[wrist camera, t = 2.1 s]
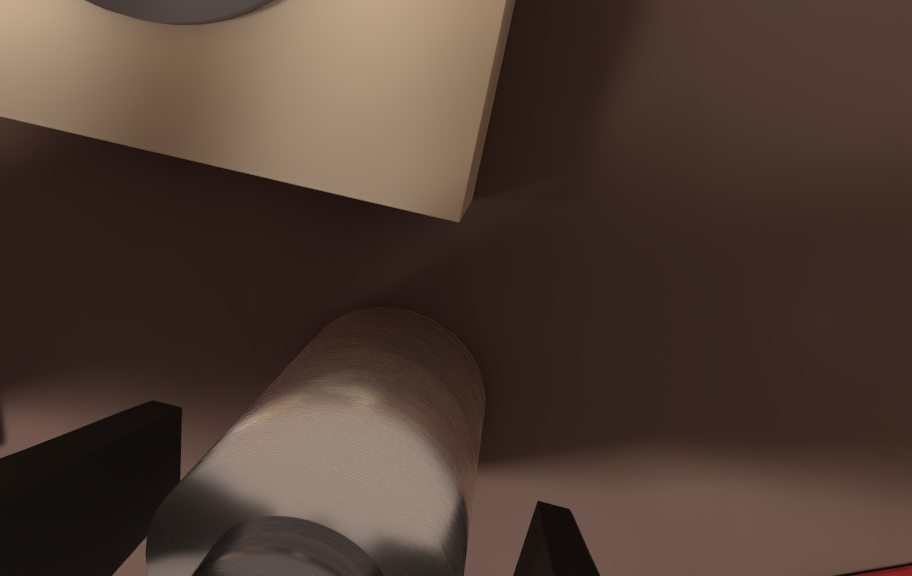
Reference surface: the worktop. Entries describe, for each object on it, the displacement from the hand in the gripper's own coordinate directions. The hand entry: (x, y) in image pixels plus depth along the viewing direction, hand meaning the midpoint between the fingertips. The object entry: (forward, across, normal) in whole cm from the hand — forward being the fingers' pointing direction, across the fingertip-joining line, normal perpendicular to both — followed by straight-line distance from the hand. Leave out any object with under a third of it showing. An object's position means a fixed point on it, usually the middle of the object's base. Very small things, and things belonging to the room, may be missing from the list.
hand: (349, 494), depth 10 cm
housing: (+4, 0, 0) cm, 4 cm away
